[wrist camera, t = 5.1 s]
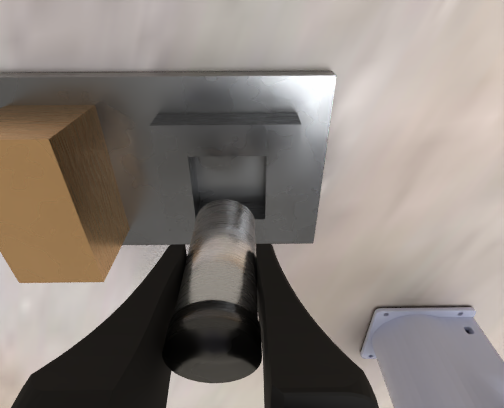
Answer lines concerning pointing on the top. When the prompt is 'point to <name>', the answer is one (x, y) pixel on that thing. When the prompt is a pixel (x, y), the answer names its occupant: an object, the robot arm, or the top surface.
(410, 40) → the top surface
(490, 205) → the top surface
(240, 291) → the shiny metal cylinder
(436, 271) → the top surface
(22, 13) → the top surface
